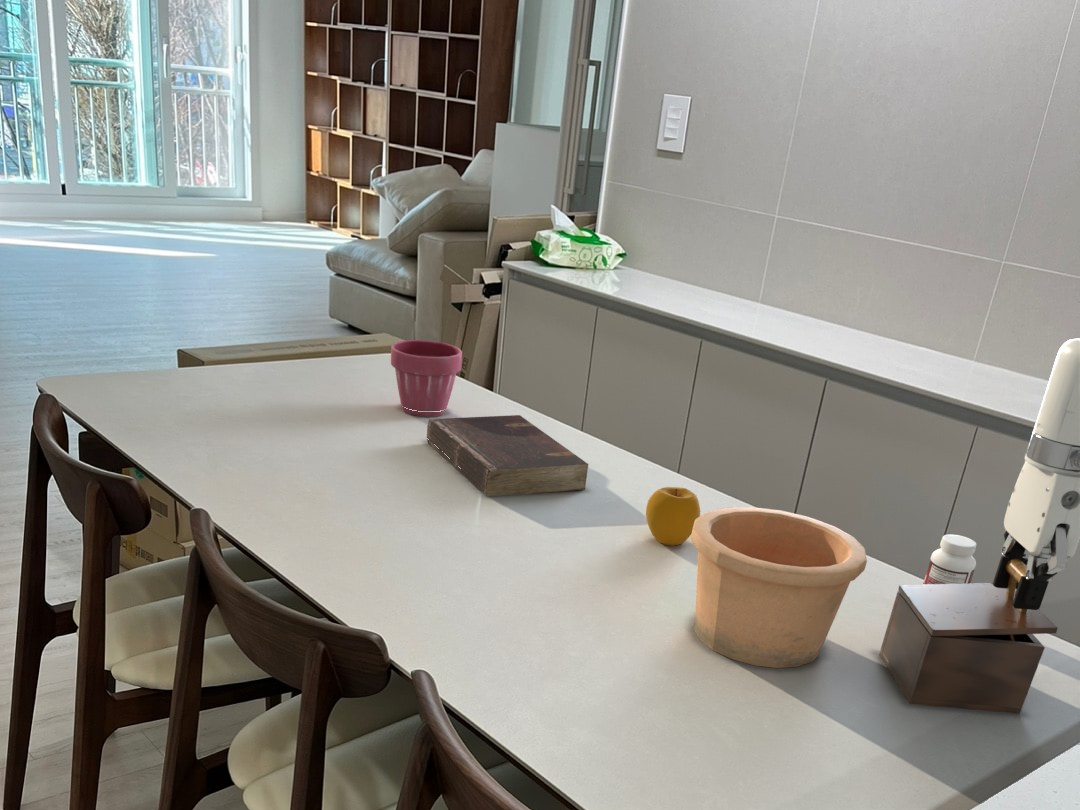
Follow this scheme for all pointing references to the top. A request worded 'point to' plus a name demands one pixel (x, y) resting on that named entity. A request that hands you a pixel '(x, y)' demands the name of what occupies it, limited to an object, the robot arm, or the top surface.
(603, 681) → the top surface
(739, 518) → the pottery
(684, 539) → the apple
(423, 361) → the flower pot
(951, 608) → the lid
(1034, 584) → the robot arm
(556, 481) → the hardback book
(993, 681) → the chest
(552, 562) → the top surface
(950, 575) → the pill bottle
